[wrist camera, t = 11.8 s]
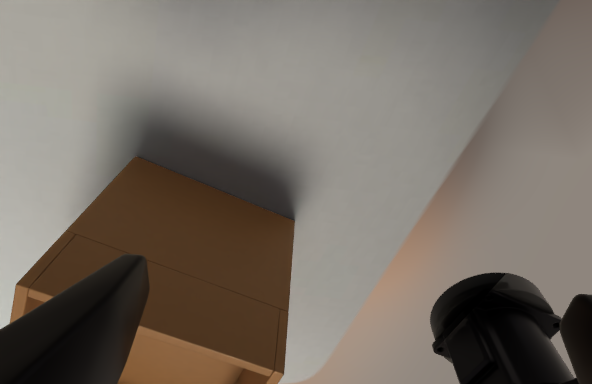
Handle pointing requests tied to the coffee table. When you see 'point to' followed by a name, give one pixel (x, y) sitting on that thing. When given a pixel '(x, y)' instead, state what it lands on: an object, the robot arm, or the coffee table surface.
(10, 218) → the coffee table surface
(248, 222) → the box
